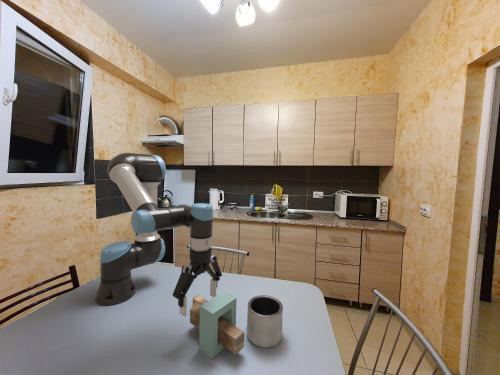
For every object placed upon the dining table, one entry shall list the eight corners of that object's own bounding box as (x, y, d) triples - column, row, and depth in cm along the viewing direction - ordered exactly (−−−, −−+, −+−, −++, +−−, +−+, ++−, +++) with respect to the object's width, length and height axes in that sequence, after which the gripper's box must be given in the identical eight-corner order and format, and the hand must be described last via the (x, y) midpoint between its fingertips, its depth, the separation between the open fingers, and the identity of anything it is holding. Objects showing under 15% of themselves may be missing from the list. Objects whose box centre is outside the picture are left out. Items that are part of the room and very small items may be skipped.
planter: (272, 356, 67) (273, 322, 66) (239, 338, 74) (240, 307, 73) (287, 331, 78) (288, 302, 77) (257, 318, 84) (258, 291, 83)
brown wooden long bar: (189, 322, 77) (189, 309, 77) (198, 316, 80) (198, 303, 80) (235, 355, 64) (235, 339, 63) (244, 346, 67) (244, 331, 67)
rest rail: (192, 307, 90) (192, 298, 89) (197, 304, 92) (197, 295, 92) (212, 319, 82) (212, 309, 82) (217, 315, 85) (217, 306, 84)
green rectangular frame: (199, 348, 69) (199, 305, 68) (222, 329, 77) (223, 291, 76) (211, 359, 65) (212, 313, 64) (235, 337, 74) (236, 297, 73)
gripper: (175, 261, 63) (174, 329, 64) (232, 241, 83) (230, 293, 84) (162, 254, 67) (160, 318, 69) (218, 237, 87) (216, 286, 89)
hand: (198, 304), depth 77 cm, fingers open, 13 cm apart
